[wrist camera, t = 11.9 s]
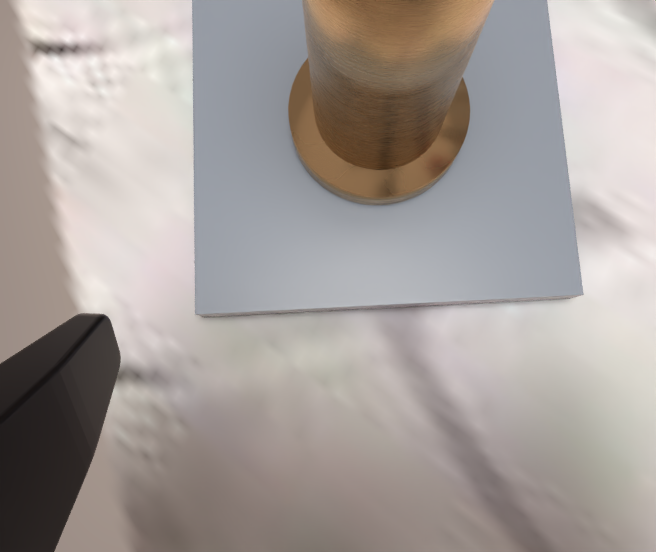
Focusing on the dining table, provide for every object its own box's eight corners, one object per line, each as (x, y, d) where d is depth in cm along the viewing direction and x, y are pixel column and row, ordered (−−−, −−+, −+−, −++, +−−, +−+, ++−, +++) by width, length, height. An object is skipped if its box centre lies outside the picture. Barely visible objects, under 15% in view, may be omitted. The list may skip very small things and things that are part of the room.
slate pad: (570, 298, 18) (583, 294, 17) (203, 316, 18) (195, 314, 17) (530, -32, 20) (540, -53, 19) (199, -12, 20) (191, -31, 19)
